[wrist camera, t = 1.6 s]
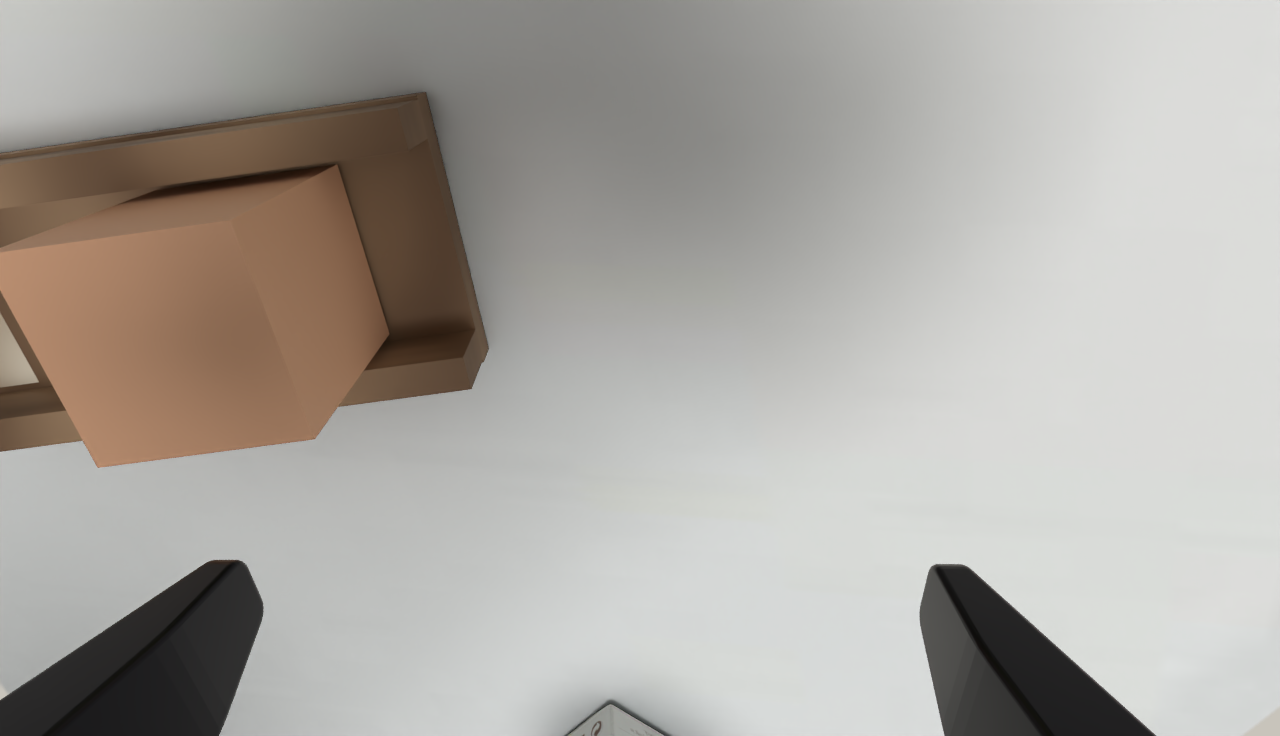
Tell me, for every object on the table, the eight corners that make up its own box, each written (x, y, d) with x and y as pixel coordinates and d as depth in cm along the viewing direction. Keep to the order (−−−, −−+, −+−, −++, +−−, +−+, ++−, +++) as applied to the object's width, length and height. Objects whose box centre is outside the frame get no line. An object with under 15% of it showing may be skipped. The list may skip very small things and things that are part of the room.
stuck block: (226, 356, 22) (97, 467, 16) (155, 190, 19) (-20, 255, 14) (389, 334, 22) (314, 439, 16) (337, 164, 19) (230, 220, 14)
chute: (6, 413, 24) (-73, 464, 21) (-137, 173, 20) (-252, 196, 17) (488, 349, 23) (472, 391, 20) (425, 91, 20) (396, 103, 17)
